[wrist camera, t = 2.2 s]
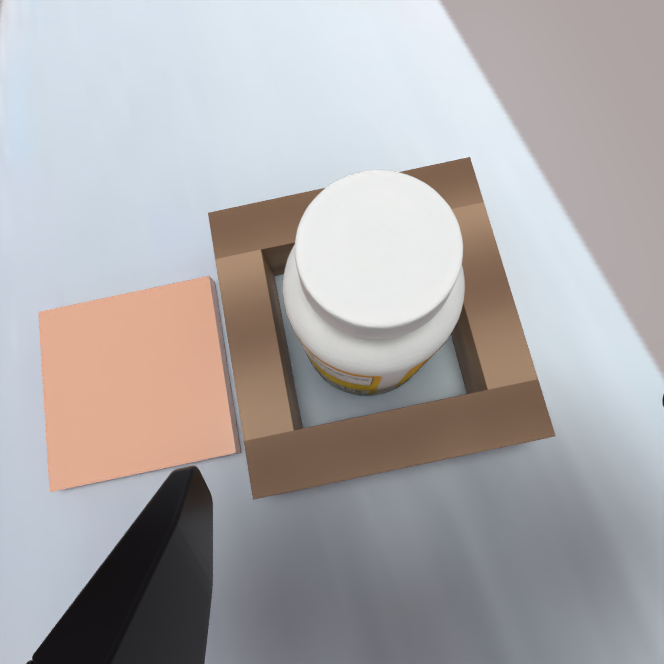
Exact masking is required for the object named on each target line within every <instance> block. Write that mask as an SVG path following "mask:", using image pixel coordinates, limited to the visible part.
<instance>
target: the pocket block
mask: <svg viewBox="0 0 664 664" xmlns="http://www.w3.org/2000/svg"><path fill="white" fill-rule="evenodd" d="M399 173H403V174H406V175H409V176H412V177H414V178H417V179H418V180H420V181H422V182H424V183H426V184H427V185H429V186H430V187H431V188H433V189H434V190H435V191H436V192H437V193H438V194H439V195H440V196H441V197H442V198H443V199H444V200H445V201H446V203H447V204H448V205H449V206H450V208H451V210H452V211H453V213H454V215H455V217H456V219H457V221H458V224H459V227H460V231H461V235H462V241H463V258H462V267H463V272H464V281H465V293H464V301H463V306H462V310H461V313H460V317H459V319H458V321H457V323H456V325H455V327H454V329H453V331H452V333H451V335H452V339H453V342H454V346H455V350H456V353H457V357H458V361H459V365H460V368H461V372H462V376H463V379H464V383H465V387H466V391H467V394H465V395H461V396H456V397H451V398H446V399H441V400H437V401H432V402H427V403H422V404H418V405H413V406H408V407H403V408H399V409H394V410H389V411H384V412H380V413H375V414H370V415H365V416H361V417H356V418H351V419H346V420H342V421H337V422H332V423H327V424H323V425H318V426H313V427H308V428H304V429H303V428H302V423H301V417H300V412H299V406H298V401H297V396H296V390H295V385H294V380H293V374H292V369H291V364H290V358H289V353H288V347H287V342H286V337H285V331H284V326H283V321H282V315H281V310H280V304H279V299H278V294H277V288H276V283H275V278H274V276H275V275H280V274H284V271H285V267H286V263H287V260H288V257H289V254H290V252H291V250H292V248H293V246H294V245H295V239H296V233H297V228H298V226H299V223H300V221H301V218H302V216H303V214H304V212H305V210H306V209H307V207H308V206H309V204H310V203H311V202H312V201H313V200H314V199H315V197H316V196H317V195H318V194H319V193H320V192H322V191H323V190H324V189H325V188H323V189H318V190H313V191H309V192H304V193H299V194H295V195H290V196H285V197H281V198H276V199H271V200H266V201H262V202H257V203H252V204H248V205H243V206H238V207H234V208H229V209H224V210H220V211H215V212H210V213H208V215H209V222H210V228H211V235H212V241H213V247H214V254H215V260H216V266H217V273H218V279H219V285H220V292H221V298H222V305H223V311H224V317H225V324H226V330H227V336H228V343H229V349H230V356H231V362H232V368H233V375H234V381H235V387H236V394H237V400H238V406H239V413H240V419H241V426H242V432H243V438H244V445H245V451H246V457H247V464H248V470H249V477H250V483H251V489H252V496H253V499H258V498H263V497H268V496H272V495H277V494H282V493H287V492H291V491H296V490H301V489H306V488H310V487H315V486H320V485H325V484H330V483H334V482H339V481H344V480H349V479H353V478H358V477H363V476H368V475H372V474H377V473H382V472H387V471H392V470H396V469H401V468H406V467H411V466H415V465H420V464H425V463H430V462H435V461H439V460H444V459H449V458H454V457H458V456H463V455H468V454H473V453H477V452H482V451H487V450H492V449H497V448H501V447H506V446H511V445H516V444H520V443H525V442H530V441H535V440H540V439H544V438H549V437H554V436H555V433H554V430H553V427H552V423H551V420H550V417H549V414H548V410H547V407H546V404H545V401H544V397H543V394H542V391H541V388H540V384H539V381H538V378H537V375H536V371H535V368H534V365H533V361H532V358H531V355H530V352H529V348H528V345H527V342H526V339H525V335H524V332H523V329H522V326H521V322H520V319H519V316H518V313H517V309H516V306H515V303H514V299H513V296H512V293H511V290H510V286H509V283H508V280H507V277H506V273H505V270H504V267H503V264H502V260H501V257H500V254H499V251H498V247H497V244H496V241H495V237H494V234H493V231H492V228H491V224H490V221H489V218H488V215H487V211H486V208H485V205H484V202H483V198H482V195H481V192H480V189H479V185H478V182H477V179H476V175H475V172H474V169H473V166H472V162H471V159H470V157H468V158H464V159H459V160H454V161H449V162H445V163H440V164H435V165H431V166H426V167H421V168H417V169H412V170H407V171H403V172H399Z"/></svg>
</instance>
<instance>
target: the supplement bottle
mask: <svg viewBox="0 0 664 664" xmlns="http://www.w3.org/2000/svg"><path fill="white" fill-rule="evenodd" d="M462 258H463V241H462V235H461V231H460V227H459V224H458V221H457V219H456V217H455V215H454V213H453V211H452V210H451V208H450V206H449V205H448V204H447V203H446V201H445V200H444V199H443V198H442V197H441V196H440V195H439V194H438V193H437V192H436V191H435V190H434V189H433V188H431V187H430V186H429V185H427V184H426V183H424V182H422V181H420V180H418V179H417V178H414V177H412V176H409V175H406V174H403V173H399V172H395V171H387V170H370V171H363V172H358V173H355V174H351V175H349V176H346V177H343V178H341V179H339V180H337V181H336V182H334V183H332V184H331V185H329V186H328V187H326V188H325V189H324V190H323V191H322V192H320V193H319V194H318V195H317V196H316V197H315V199H314V200H313V201H312V202H311V203H310V204H309V206H308V207H307V209H306V210H305V212H304V214H303V216H302V218H301V221H300V223H299V226H298V228H297V233H296V239H295V245H294V246H293V248H292V250H291V252H290V254H289V257H288V260H287V263H286V267H285V271H284V278H283V298H284V304H285V308H286V312H287V315H288V318H289V321H290V323H291V326H292V328H293V330H294V332H295V334H296V335H297V337H298V339H299V341H300V343H301V345H302V346H303V348H304V350H305V352H306V354H307V356H308V358H309V359H310V361H311V363H312V365H313V366H314V368H315V369H316V370H317V372H318V373H319V374H320V375H321V376H322V377H323V378H324V379H325V380H326V381H328V382H329V383H330V384H332V385H333V386H335V387H337V388H339V389H341V390H343V391H346V392H349V393H353V394H358V395H377V394H382V393H385V392H389V391H391V390H393V389H395V388H397V387H399V386H401V385H402V384H404V383H405V382H406V381H408V380H409V379H410V378H411V377H412V376H413V375H414V374H415V373H416V372H417V371H418V370H419V369H420V368H421V367H422V366H423V365H424V364H425V363H426V362H427V361H428V359H430V358H431V357H432V356H433V355H434V354H435V353H436V352H437V351H438V350H439V349H440V348H441V347H442V345H443V344H444V343H445V341H446V340H447V339H448V337H449V336H450V334H451V333H452V331H453V329H454V327H455V325H456V323H457V321H458V319H459V317H460V313H461V310H462V306H463V301H464V293H465V281H464V272H463V267H462Z"/></svg>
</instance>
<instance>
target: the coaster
mask: <svg viewBox="0 0 664 664" xmlns="http://www.w3.org/2000/svg"><path fill="white" fill-rule="evenodd" d="M38 313H39V329H40V345H41V361H42V377H43V393H44V409H45V425H46V441H47V457H48V472H49V488H50V492H53V491H59V490H64V489H69V488H73V487H78V486H83V485H88V484H92V483H97V482H102V481H107V480H111V479H116V478H121V477H126V476H131V475H135V474H140V473H145V472H150V471H154V470H159V469H164V468H169V467H173V466H178V465H183V464H188V463H192V462H197V461H202V460H207V459H211V458H216V457H221V456H226V455H230V454H235V453H240V452H241V450H240V444H239V437H238V431H237V424H236V418H235V411H234V405H233V399H232V392H231V386H230V379H229V373H228V366H227V360H226V353H225V347H224V340H223V334H222V327H221V321H220V314H219V308H218V302H217V295H216V289H215V282H214V281H213V280H212V279H211V278H210V276H206V277H202V278H197V279H192V280H188V281H183V282H178V283H173V284H169V285H164V286H159V287H155V288H150V289H145V290H140V291H136V292H131V293H126V294H122V295H117V296H112V297H108V298H103V299H98V300H93V301H89V302H84V303H79V304H75V305H70V306H65V307H60V308H56V309H51V310H46V311H42V312H38Z"/></svg>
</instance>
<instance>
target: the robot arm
mask: <svg viewBox="0 0 664 664" xmlns="http://www.w3.org/2000/svg"><path fill="white" fill-rule="evenodd" d="M663 406H664V395H663ZM212 586H213V502H212V496H211V493H210V491H209V489H208V487H207V485H206V483H205V481H204V479H203V476H202V474H201V472H200V470H199V469H198V468H197V467H196V466H188V467H184V468H179V469H176V470H174V471H173V472H172V473H171V474H170V475H169V476H168V478H167V479H166V480H165V482H164V483H163V484H162V486H161V487H160V488H159V490H158V491H157V492H156V494H155V495H154V496H153V497H152V499H151V500H150V501H149V503H148V504H147V505H146V507H145V508H144V509H143V511H142V512H141V513H140V515H139V516H138V517H137V519H136V520H135V521H134V523H133V524H132V525H131V526H130V528H129V529H128V530H127V532H126V533H125V534H124V536H123V537H122V538H121V540H120V541H119V542H118V544H117V545H116V546H115V548H114V549H113V550H112V552H111V553H110V554H109V555H108V557H107V558H106V559H105V561H104V562H103V563H102V565H101V566H100V567H99V569H98V570H97V571H96V573H95V574H94V575H93V577H92V578H91V579H90V581H89V582H88V583H87V584H86V586H85V587H84V588H83V590H82V591H81V592H80V594H79V595H78V596H77V598H76V599H75V600H74V602H73V603H72V604H71V606H70V607H69V608H68V610H67V611H66V612H65V613H64V615H63V616H62V617H61V619H60V620H59V621H58V623H57V624H56V625H55V627H54V628H53V629H52V631H51V632H50V633H49V635H48V636H47V637H46V639H45V640H44V641H43V642H42V644H41V645H40V646H39V648H38V649H37V650H36V652H35V653H34V654H33V657H32V660H30V661H28V662H27V663H26V664H204V662H205V653H206V644H207V635H208V626H209V617H210V608H211V598H212Z"/></svg>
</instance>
